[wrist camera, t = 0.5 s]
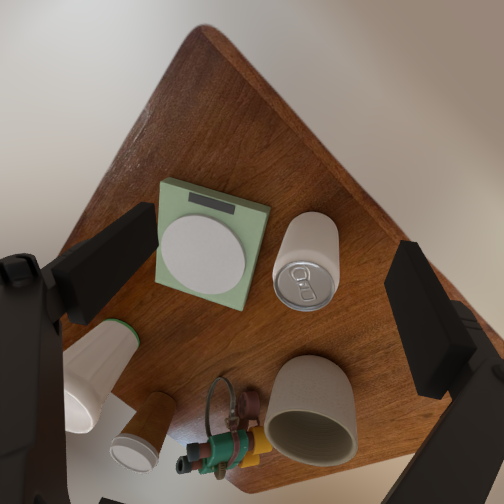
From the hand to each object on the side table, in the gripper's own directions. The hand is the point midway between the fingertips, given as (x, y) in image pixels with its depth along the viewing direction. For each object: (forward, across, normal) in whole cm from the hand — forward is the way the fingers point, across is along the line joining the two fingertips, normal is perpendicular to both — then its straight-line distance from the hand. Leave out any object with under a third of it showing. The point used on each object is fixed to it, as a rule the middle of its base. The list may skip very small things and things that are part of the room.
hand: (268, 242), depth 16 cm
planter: (+19, +8, -34) cm, 40 cm away
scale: (+21, -10, -14) cm, 27 cm away
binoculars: (+19, -3, -46) cm, 50 cm away
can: (+20, +4, -10) cm, 23 cm away
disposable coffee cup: (+19, -20, -55) cm, 62 cm away
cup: (+21, -28, -38) cm, 51 cm away
